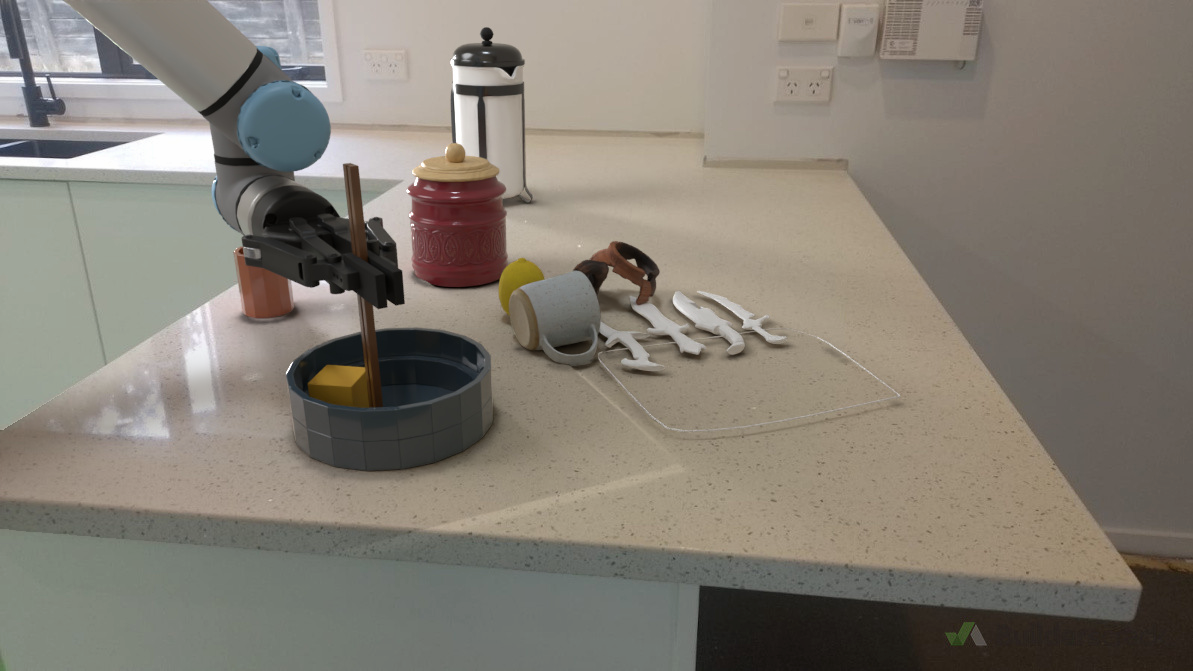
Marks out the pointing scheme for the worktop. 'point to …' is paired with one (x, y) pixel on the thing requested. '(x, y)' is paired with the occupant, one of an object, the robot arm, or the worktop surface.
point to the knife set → (704, 321)
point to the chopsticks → (364, 306)
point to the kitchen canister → (457, 220)
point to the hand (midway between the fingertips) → (390, 289)
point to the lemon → (517, 279)
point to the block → (340, 386)
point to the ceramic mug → (557, 316)
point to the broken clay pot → (622, 268)
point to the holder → (262, 290)
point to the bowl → (396, 400)
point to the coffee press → (491, 108)
